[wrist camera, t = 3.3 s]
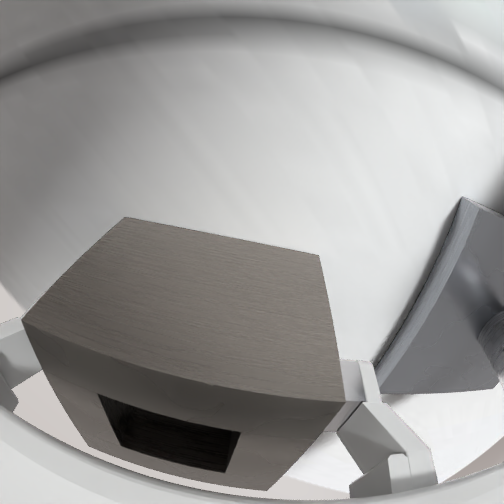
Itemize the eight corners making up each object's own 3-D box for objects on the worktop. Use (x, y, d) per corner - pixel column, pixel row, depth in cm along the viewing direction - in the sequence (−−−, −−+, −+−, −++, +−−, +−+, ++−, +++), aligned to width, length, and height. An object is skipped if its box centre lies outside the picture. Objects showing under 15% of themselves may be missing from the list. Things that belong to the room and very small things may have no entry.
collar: (125, 217, 9) (20, 320, 4) (318, 255, 9) (345, 402, 4) (134, 348, 11) (88, 446, 7) (273, 379, 12) (266, 490, 7)
